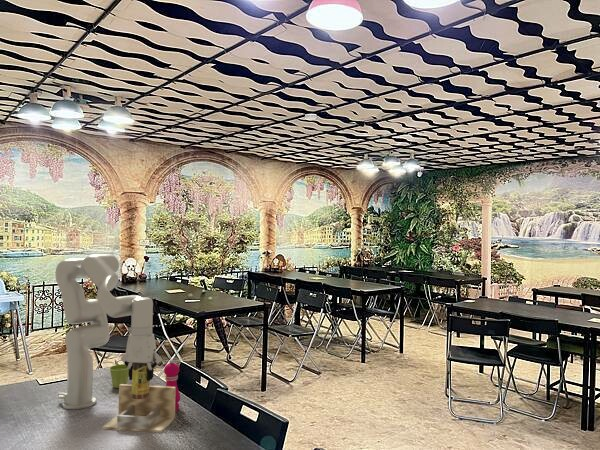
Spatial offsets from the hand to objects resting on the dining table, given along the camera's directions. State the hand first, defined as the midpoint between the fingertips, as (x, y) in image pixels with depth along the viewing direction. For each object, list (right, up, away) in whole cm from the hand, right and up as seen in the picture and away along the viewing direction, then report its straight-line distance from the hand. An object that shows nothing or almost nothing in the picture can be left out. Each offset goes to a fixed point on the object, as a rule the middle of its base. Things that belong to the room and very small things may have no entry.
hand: (140, 379), depth 173 cm
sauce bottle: (0, -7, 0) cm, 7 cm away
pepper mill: (+7, -17, +14) cm, 23 cm away
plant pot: (-24, -17, +41) cm, 51 cm away
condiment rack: (0, -16, 0) cm, 16 cm away
